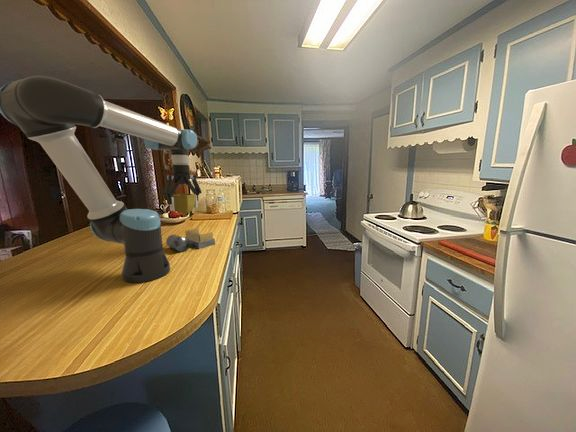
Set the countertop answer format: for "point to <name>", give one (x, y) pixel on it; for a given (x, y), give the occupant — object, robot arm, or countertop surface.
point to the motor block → (190, 240)
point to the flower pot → (184, 202)
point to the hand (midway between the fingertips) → (184, 209)
